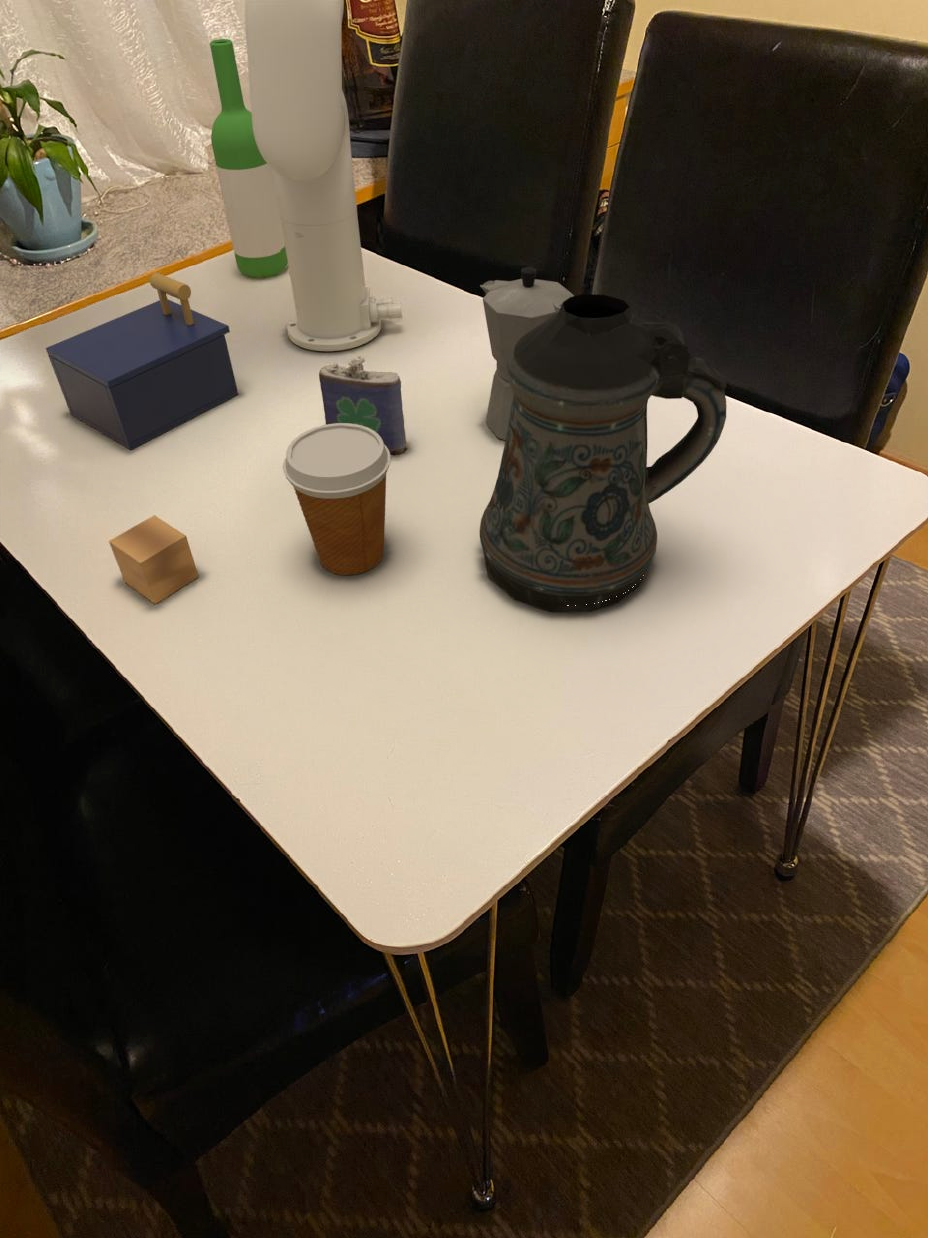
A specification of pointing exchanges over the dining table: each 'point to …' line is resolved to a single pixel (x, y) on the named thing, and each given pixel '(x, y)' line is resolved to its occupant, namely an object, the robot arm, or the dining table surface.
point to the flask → (365, 401)
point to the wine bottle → (244, 176)
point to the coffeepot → (514, 330)
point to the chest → (151, 394)
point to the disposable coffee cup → (341, 493)
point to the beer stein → (590, 454)
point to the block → (154, 559)
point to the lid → (140, 337)
